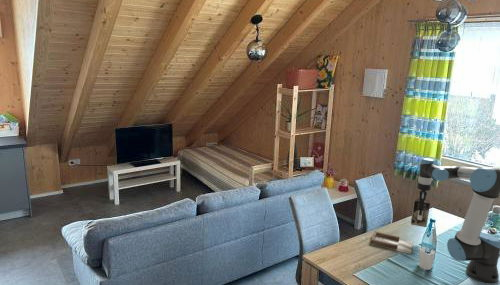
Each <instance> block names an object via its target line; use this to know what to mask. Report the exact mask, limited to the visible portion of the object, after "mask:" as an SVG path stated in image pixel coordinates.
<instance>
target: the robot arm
mask: <svg viewBox="0 0 500 285" xmlns="http://www.w3.org/2000/svg"><path fill="white" fill-rule="evenodd" d="M450 179H451V180H453V179H454V180H465V181H469V182H470V183H469V185H470V187H471V191H472V192H473V195H472V198H471V201H470V204H469V206H468V209H467V211H466V214H465V217H464V220H463V223H462V226H461V229H460V230H458V231H456V232H455V235H454V238H453V237H451V238H449V239H448V240H447V243H446V247H447V251H448V254H449V256H450V257H451V258H452V259H453V260H455V261H457V262H465V261H466V262H467V261H469V263H468V264H467V265H466V268H465V272H466V274H467V275H468V276H469V277H470V278H473V279H474V280H477V281H479V282H482V283H487V284H495V283H498V282H499V277H500V275H499V274H500V273H499V270H498V262H499V259H500V258H499V257H500V239H499V238H498V237H496V236H494V235H492V234H489V233H487V232H486V233H485V232H482V231H483V228H484V225H485V223H486V221H487V217H488V215H489V214H490V213H489V212H490V210H491V207H492V204H493V202H494V200H496V199H499V198H500V166H491V167H490V166H483V167H472V166H469V167H468V166H464V165H450V166H449V165H448V166H446V165H441V166H439V165H436V164H435V160H434V159H432V158H429V157H424V158H421V159H420V164H419V172H418V178H417V187H416V188H417V189H418V190H419V198H418V199H420V204H419V209H417V210H418V217H417V220H422V216H423V207H424V200H427V199H426V197H427V195H428V194H427V193H428V191H431V187H432V181H433V180H435V181H440V182H445V181H446V180H450Z"/></svg>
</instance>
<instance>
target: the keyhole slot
mask: <svg viewBox="0 0 500 285" xmlns="http://www.w3.org/2000/svg"><path fill="white" fill-rule="evenodd" d="M370 245H373V246H377V247H381V248H386V249H389V250H394V251H396V252H399V253H403V252H405V253H404V254H407V253H409V254H408V255H412V250H413V242H412V241H407V240H402V239H400V236H398V235H394V234H389V233H384V232H381V231H376V230H375V231H374V232H373V234H372V236H371V239H370Z"/></svg>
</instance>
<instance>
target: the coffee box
mask: <svg viewBox="0 0 500 285" xmlns="http://www.w3.org/2000/svg"><path fill="white" fill-rule="evenodd" d="M419 204H420V199H419V198H415V197H414V199H413V205H412V213H411V217H410V219H411V220H410V225H412V226H417V227H423V228H427V227H428V220H429V213H430V206H431V201H430V200H428V199H425V200H424V207H423V216H422V220H417V217H418V210H417V209H419Z"/></svg>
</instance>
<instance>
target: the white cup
mask: <svg viewBox="0 0 500 285" xmlns="http://www.w3.org/2000/svg"><path fill="white" fill-rule="evenodd" d="M425 247H426V246H423V247H420V248H419V253H418V254H419V255H418V266H420V267H419V268H421V269H422V268H423V269H422V270H429V271H430V270H432V269H431V268H433V265H434V260H435V255H436V251H435V249H432V248H431V249H432V250H431V253H430V254H427V253H424V252H425Z"/></svg>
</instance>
